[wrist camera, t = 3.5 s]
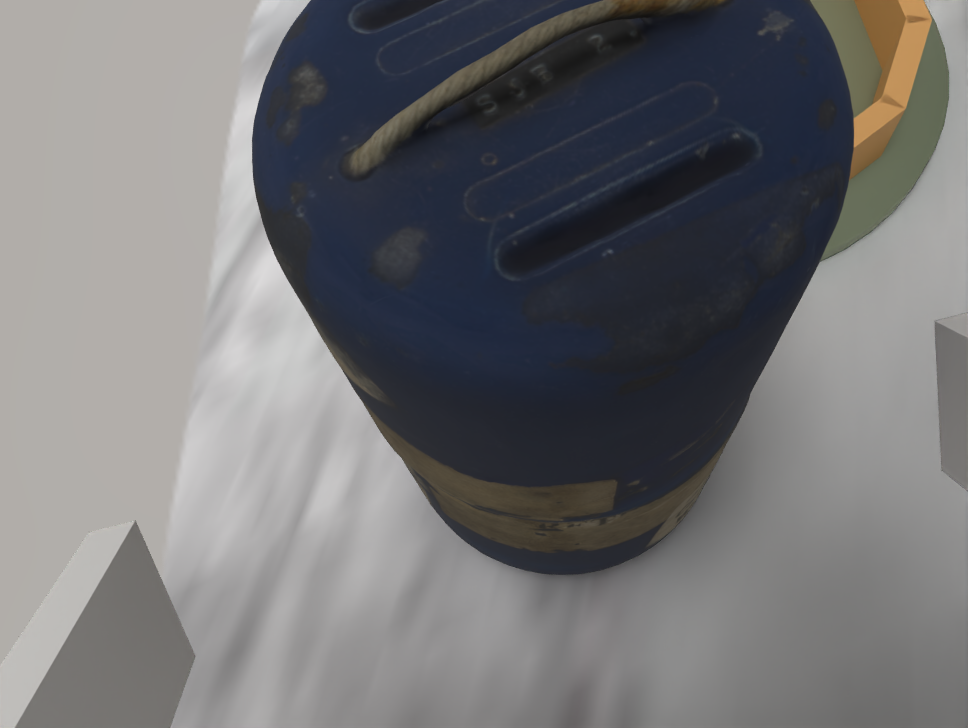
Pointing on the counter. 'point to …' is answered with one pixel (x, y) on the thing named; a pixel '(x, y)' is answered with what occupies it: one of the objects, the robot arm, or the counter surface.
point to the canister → (554, 241)
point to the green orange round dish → (886, 103)
